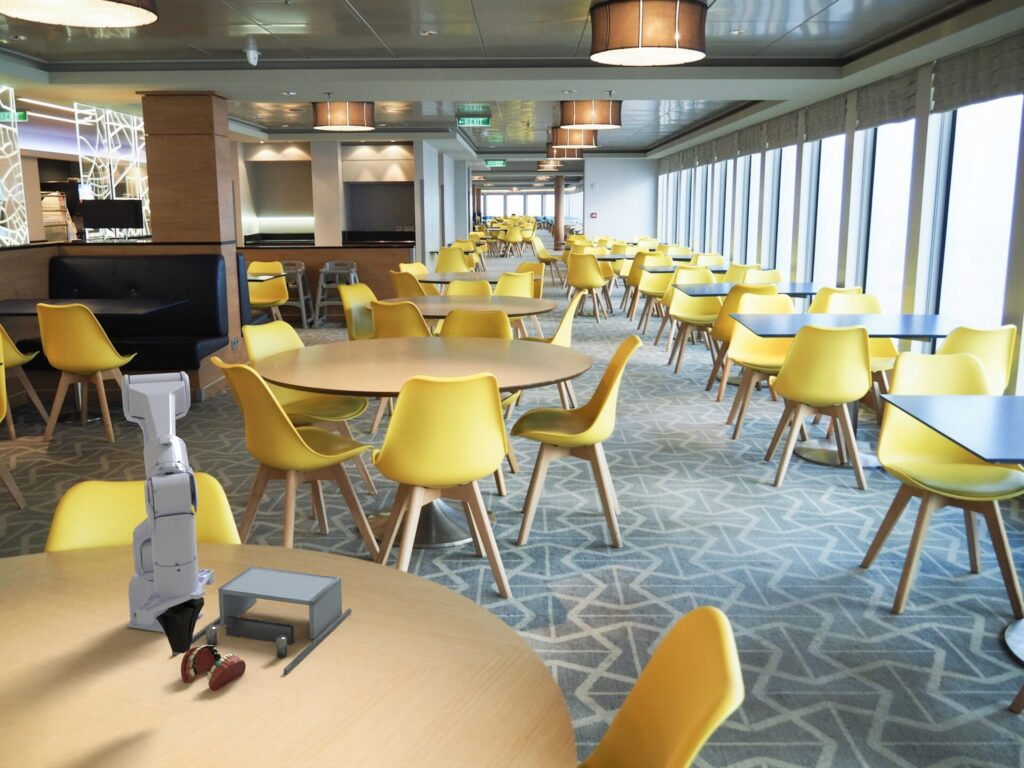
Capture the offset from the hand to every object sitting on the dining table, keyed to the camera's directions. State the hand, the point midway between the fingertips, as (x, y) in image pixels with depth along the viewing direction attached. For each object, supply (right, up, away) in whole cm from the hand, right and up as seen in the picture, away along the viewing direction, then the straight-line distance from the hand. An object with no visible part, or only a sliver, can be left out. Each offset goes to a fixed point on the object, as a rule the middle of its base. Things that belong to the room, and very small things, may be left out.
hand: (181, 650), depth 123 cm
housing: (+7, -3, +27) cm, 28 cm away
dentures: (+2, -7, +8) cm, 11 cm away
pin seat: (+6, -4, +22) cm, 23 cm away
